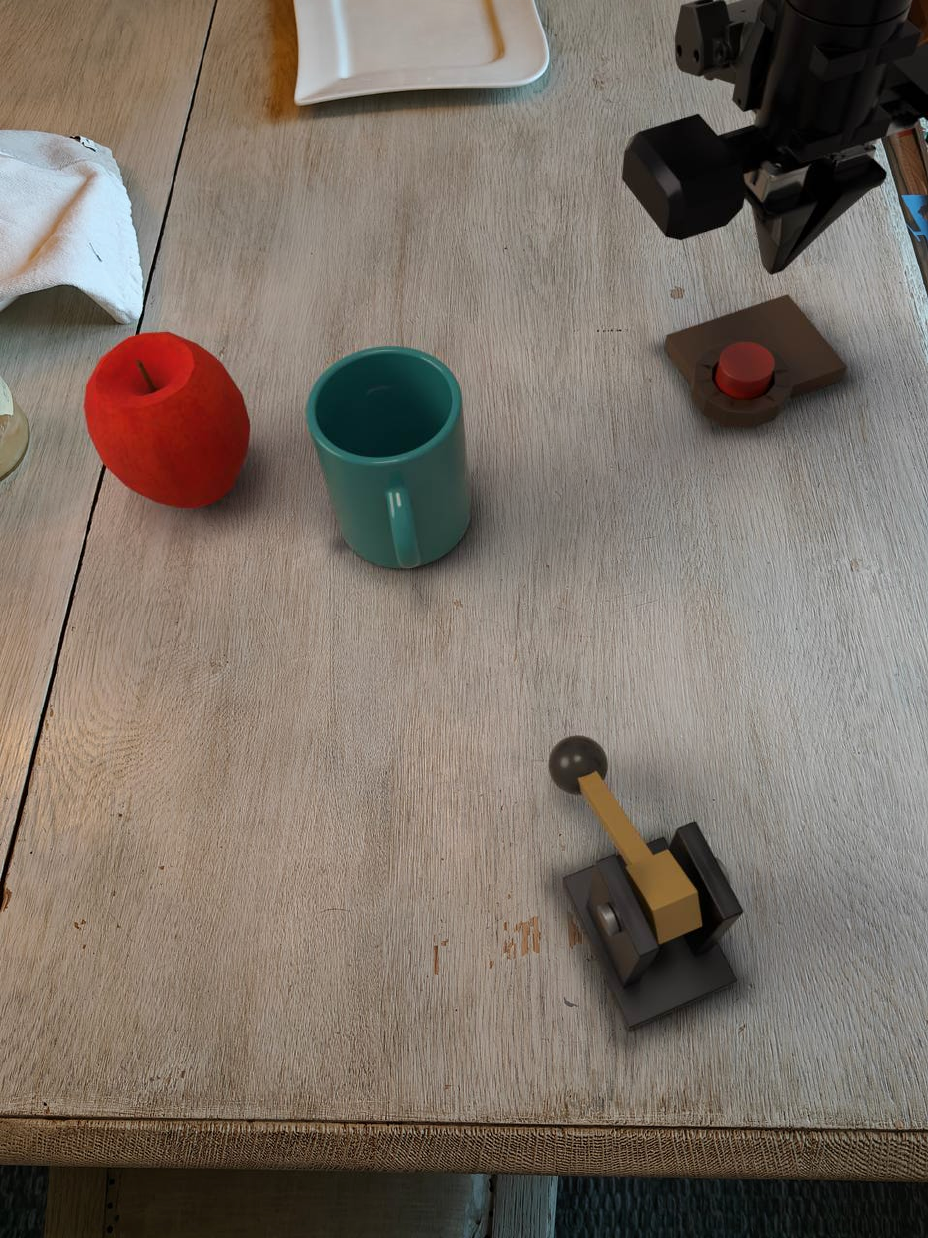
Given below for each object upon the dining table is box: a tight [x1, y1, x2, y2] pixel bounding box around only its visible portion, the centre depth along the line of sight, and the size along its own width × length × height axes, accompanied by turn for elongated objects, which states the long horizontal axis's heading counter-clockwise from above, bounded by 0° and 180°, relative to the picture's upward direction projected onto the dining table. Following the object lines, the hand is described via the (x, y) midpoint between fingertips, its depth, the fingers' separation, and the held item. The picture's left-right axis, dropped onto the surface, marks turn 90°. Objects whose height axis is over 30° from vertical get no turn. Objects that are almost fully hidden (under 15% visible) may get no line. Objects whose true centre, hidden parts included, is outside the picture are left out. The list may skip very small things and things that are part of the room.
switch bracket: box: [562, 820, 744, 1032], centre depth 46 cm, size 8×6×10 cm
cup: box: [305, 345, 473, 569], centre depth 59 cm, size 9×12×11 cm
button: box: [716, 342, 775, 399], centre depth 64 cm, size 4×4×2 cm
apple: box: [83, 331, 252, 509], centre depth 62 cm, size 10×10×12 cm
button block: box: [663, 293, 848, 430], centre depth 67 cm, size 11×10×3 cm
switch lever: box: [548, 734, 702, 944], centre depth 48 cm, size 13×3×3 cm, turn 21°
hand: (771, 268), depth 57 cm, fingers closed
